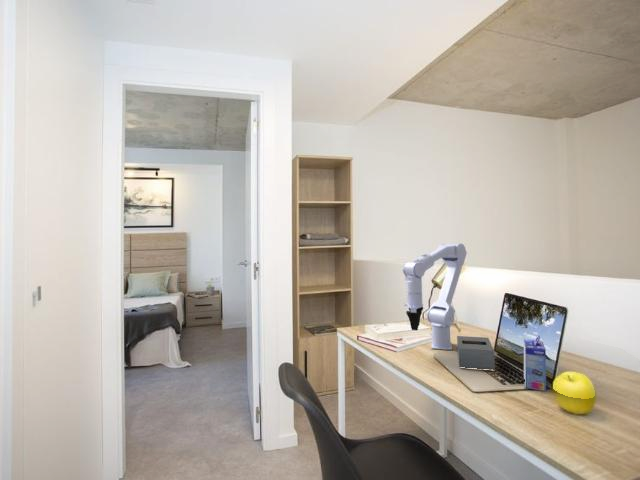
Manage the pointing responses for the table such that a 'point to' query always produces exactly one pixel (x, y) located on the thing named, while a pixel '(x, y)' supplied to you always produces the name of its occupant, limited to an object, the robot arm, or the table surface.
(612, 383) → the table surface
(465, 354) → the money box
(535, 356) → the ink cartridge box
